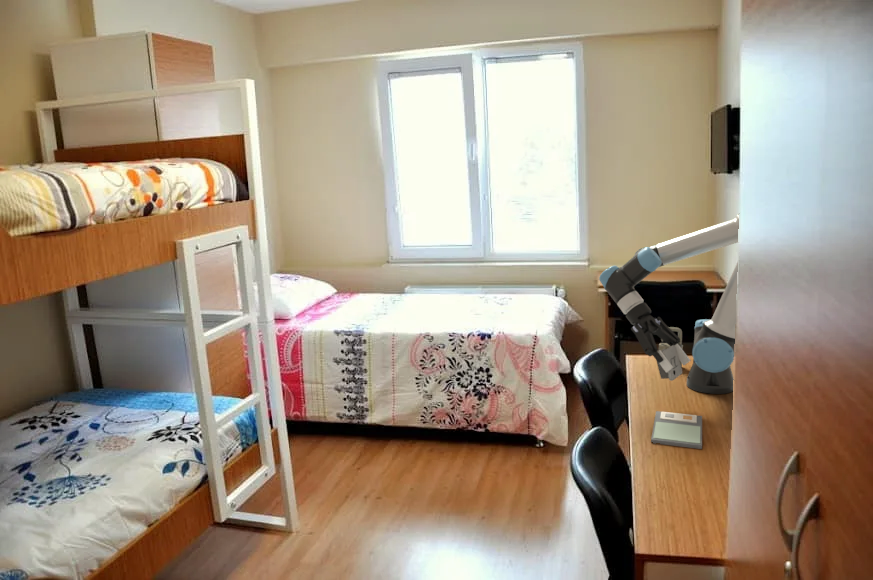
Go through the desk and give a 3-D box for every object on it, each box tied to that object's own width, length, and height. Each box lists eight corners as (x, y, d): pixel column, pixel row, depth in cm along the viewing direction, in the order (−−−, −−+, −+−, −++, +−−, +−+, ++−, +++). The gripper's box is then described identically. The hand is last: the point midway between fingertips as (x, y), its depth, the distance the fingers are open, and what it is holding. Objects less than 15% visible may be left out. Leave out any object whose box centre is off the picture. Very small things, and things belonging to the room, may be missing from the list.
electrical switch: (672, 381, 204) (670, 352, 203) (655, 380, 207) (653, 351, 206) (682, 373, 211) (681, 345, 210) (666, 372, 215) (664, 344, 213)
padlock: (658, 363, 253) (660, 325, 250) (681, 366, 250) (683, 326, 247) (657, 366, 250) (659, 327, 247) (681, 369, 246) (682, 329, 243)
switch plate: (656, 414, 204) (656, 409, 204) (701, 419, 200) (702, 414, 199) (650, 442, 184) (651, 437, 184) (701, 449, 180) (702, 444, 179)
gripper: (646, 309, 225) (689, 365, 216) (607, 321, 211) (650, 381, 202) (661, 296, 220) (705, 352, 210) (621, 307, 206) (666, 367, 197)
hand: (678, 366), depth 206 cm, fingers closed on electrical switch, 9 cm apart
